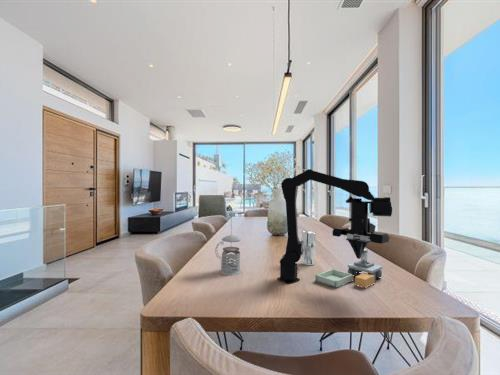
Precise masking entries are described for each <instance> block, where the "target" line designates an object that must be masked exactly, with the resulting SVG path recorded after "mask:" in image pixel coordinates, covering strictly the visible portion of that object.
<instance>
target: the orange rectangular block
mask: <svg viewBox="0 0 500 375" xmlns="http://www.w3.org/2000/svg"><path fill="white" fill-rule="evenodd" d="M375 282H376V279H375V276H374V275H370V274H368V272H362V273H361V274H358V275H355V276H354V285H355V284H356V285H359V286H362V287H367V286H369V285H371V284H373V283H375Z"/></svg>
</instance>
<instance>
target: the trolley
mask: <svg viewBox="0 0 500 375" xmlns="http://www.w3.org/2000/svg"><path fill="white" fill-rule="evenodd" d="M347 268H348V270H347V273H350V274H353V275H355V274H356V275H357V274H359V272H362V273H367V274H370V275H374V276H375V280H377V278H379V277H381V278H382V274H383V272H382V270H383V266H382V265H379V264H378V265H377V264H375V263H374V262H370V261H367V265H365V264H361V259H360V260H357V261H355V262H352V263H349V264H347ZM356 272H358V273H356ZM356 275H355V276H356Z"/></svg>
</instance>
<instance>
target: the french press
mask: <svg viewBox="0 0 500 375" xmlns="http://www.w3.org/2000/svg"><path fill="white" fill-rule="evenodd" d="M229 216H230V235H227V236H224V237H223V238H221V241H220V242H219V243H217V245H216V247H215V248H214V249H215V251H214V252H215V255H216V257H217V259H219V260H221V263H220V264H221V265H220V266H221V267H220V269H219V273H220V274H221V275H223V276H237V275H240V274H242V273H243V270H242V269H241V252H240V248H239V246H238V247H237V246H225V247H223V248H222V250H223V251H222V252H221V256H220V255H219V253H218V251H217V248H218V247H219V245H221V244H223V242H225V243H226V242H227V243H237V242H240V241H241V238H240V237H239V236H236V235H233V233H232V231H233V230H232V227H233V226H232V223H233V221H232V219H233V216H234V213H233V212H229Z"/></svg>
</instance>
